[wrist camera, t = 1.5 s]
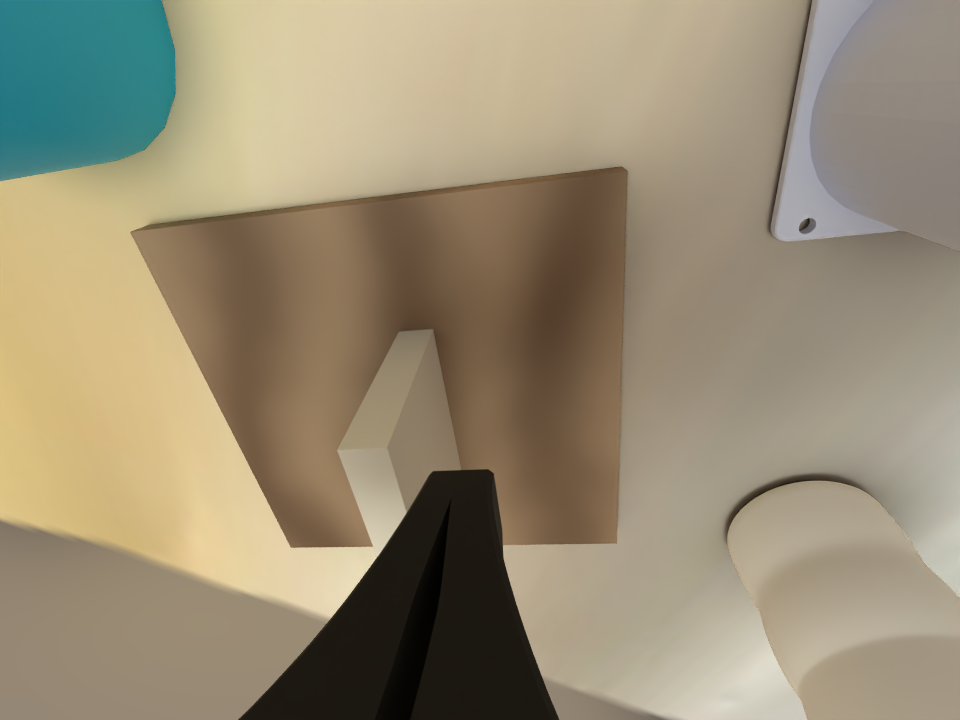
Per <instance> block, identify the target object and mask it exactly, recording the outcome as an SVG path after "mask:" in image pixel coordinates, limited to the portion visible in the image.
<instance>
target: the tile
mask: <svg viewBox="0 0 960 720" xmlns="http://www.w3.org/2000/svg"><path fill="white" fill-rule="evenodd" d="M337 451H338V454H339V457H340V459H341V462H342V465H343V467H344V470H345V473H346V475H347V478H348V481H349V483H350V486H351V489H352V491H353V494H354V497H355V499H356V502H357V505H358V507H359V510H360V513H361V515H362V518H363V521H364V523H365V526H366V529H367V532H368V534H369V537H370V540H371V542H372V545H373V548H374V550H375V553H376V556H377V557H378V555H379V554H380V553H381V551H382V550H383V548H384V547H385V545H386V544H387V542H388V541H389V539H390V538H391V536H392V535H393V533H394V532H395V530H396V529H397V527H398V526H399V524H400V522H401V521H402V519H403V518H404V516H405V515H406V513H407V511H408V510H409V508H410V506H411V505H412V503H413V502H414V500H415V498H416V497H417V495H418V493H419V491H420V490H421V488H422V486H423V485H424V483H425V481H426V479H427V478H428V476H429V475H430V474H431V473H432V472H433V471H448V470H461V465H460V460H459V455H458V450H457V445H456V440H455V435H454V430H453V425H452V421H451V416H450V411H449V406H448V401H447V396H446V391H445V386H444V381H443V376H442V371H441V366H440V361H439V356H438V351H437V346H436V341H435V336H434V331H433V329H425V330H413V331H401V332H398V334H397V336H396V338H395V340H394V342H393V344H392V346H391V348H390V350H389V352H388V353H387V355H386V357H385V359H384V361H383V363H382V365H381V367H380V369H379V371H378V373H377V375H376V376H375V378H374V380H373V382H372V384H371V386H370V388H369V390H368V392H367V394H366V396H365V398H364V399H363V401H362V403H361V405H360V407H359V409H358V411H357V413H356V415H355V417H354V419H353V421H352V422H351V424H350V426H349V428H348V430H347V432H346V434H345V436H344V438H343V440H342V442H341V444H340V445H339V447H338V449H337Z"/></svg>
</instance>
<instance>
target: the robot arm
mask: <svg viewBox="0 0 960 720" xmlns="http://www.w3.org/2000/svg"><path fill="white" fill-rule="evenodd" d="M808 218H810V223H809V225H808V227H806V228H805V229H804V230H801V231H799V225H800V223H801V222H802V221H803V220H805V219H808ZM895 231H905V232H908V233H911V234H913V235H916V236H919V237H921V238H924V239H927V240H929V241H932V242H935V243H937V244H940V245H943V246H945V247H948V248H951V249H953V250H956V251H959V252H960V0H812V6H811V11H810V16H809V22H808V27H807V33H806V38H805V44H804V49H803V54H802V60H801V65H800V71H799V76H798V81H797V87H796V92H795V98H794V103H793V108H792V114H791V119H790V125H789V130H788V135H787V141H786V146H785V152H784V157H783V162H782V168H781V173H780V179H779V184H778V189H777V195H776V200H775V206H774V211H773V217H772V222H771V233H772V235H773V236H774V237H775V238H777V239H779V240H780V241H783V242H792V241H802V240H812V239H823V238H833V237H843V236H854V235H864V234H874V233H885V232H895ZM238 720H559V718H558V715H557V713H556V711H555V708H554V706H553V704H552V701H551V699H550V696H549V694H548V691H547V689H546V686H545V684H544V681H543V678H542V676H541V673H540V670H539V668H538V665H537V663H536V660H535V657H534V655H533V652H532V649H531V646H530V643H529V640H528V638H527V635H526V632H525V629H524V626H523V623H522V620H521V617H520V614H519V611H518V608H517V605H516V601H515V598H514V595H513V591H512V588H511V585H510V581H509V578H508V574H507V570H506V567H505V563H504V559H503V533H502V524H501V517H500V511H499V504H498V498H497V491H496V485H495V478H494V473H493V472H491V471H490V470H489V469H477V470H448V471H433V472H432V473H431V474H430V475H429V476H428V478H427V479H426V481H425V483H424V485H423V486H422V488H421V490H420V491H419V493H418V495H417V497H416V498H415V500H414V502H413V503H412V505H411V506H410V508H409V510H408V511H407V513H406V515H405V516H404V518H403V519H402V521H401V522H400V524H399V526H398V527H397V529H396V530H395V532H394V533H393V535H392V536H391V538H390V539H389V541H388V542H387V544H386V545H385V547H384V548H383V550H382V551H381V553H380V554H379V555H378V557H377V558H376V560H375V561H374V563H373V564H372V565H371V567H370V568H369V569H368V571H367V572H366V573H365V575H364V576H363V578H362V579H361V580H360V582H359V583H358V584H357V586H356V587H355V588H354V590H353V591H352V592H351V594H350V595H349V596H348V598H347V599H346V600H345V602H344V603H343V604H342V605H341V607H340V608H339V609H338V610H337V612H336V613H335V614H334V615H333V617H332V618H331V619H330V620H329V622H328V623H327V624H326V625H325V626H324V628H323V629H322V630H321V631H320V632H319V633H318V635H317V636H316V637H315V638H314V639H313V641H312V642H311V643H310V644H309V645H308V646H307V647H306V649H305V650H304V651H303V652H302V653H301V654H300V655H299V656H298V658H297V659H296V660H295V661H294V662H293V663H292V664H291V665H290V666H289V667H288V668H287V670H286V671H285V672H284V673H283V674H282V675H281V676H280V677H279V678H278V679H277V681H276V682H275V683H274V684H273V685H272V686H271V687H270V688H269V689H268V690H267V691H266V692H265V693H264V694H263V695H262V696H261V698H259V699H258V701H257V702H256V703H255V704H254V705H253V706H252V707H251V708H250V709H249V710H248V711H247V712H246V713H245V714H244V715H243V716H242V717H241V718H239V719H238Z"/></svg>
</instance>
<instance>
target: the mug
mask: <svg viewBox="0 0 960 720" xmlns="http://www.w3.org/2000/svg"><path fill="white" fill-rule="evenodd" d="M174 97H175V49H174V45H173V42H172V38H171V34H170V30H169V27H168V23H167V19H166V15H165V12H164V8H163V4H162V1H161V0H0V181H4V180H9V179H15V178H21V177H26V176H32V175H38V174H44V173H49V172H55V171H61V170H66V169H72V168H78V167H83V166H89V165H95V164H101V163H106V162H112V161H117V160H120V159H122V158H125V157H127V156H130V155H133V154H135V153H138V152H140V151H143V150H145V149H146V147H147V146H148V145H149V144H150V143H151V142H152V141H153V140H154V139H155V138H156V136H157V135H158V134H159V133H160V132H161V131H162V130H163V129H164V128H165V125H166V122H167V118H168V115H169V112H170V109H171V106H172V103H173V100H174Z"/></svg>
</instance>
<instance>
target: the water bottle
mask: <svg viewBox="0 0 960 720" xmlns="http://www.w3.org/2000/svg"><path fill="white" fill-rule="evenodd" d="M727 545H728V550H729V553H730V556H731V558H732V561H733V563H734V566H735V568H736V570H737V572H738V574H739V576H740V578H741V580H742V582H743V584H744V586H745V588H746V590H747V592H748V594H749V595H750V597H751V599H752V600H753V602H754V603H755V605H756V607H757V608H758V610H759V612H760V615H761V618H762V622H763V626H764V629H765V632H766V635H767V638H768V641H769V643H770V646H771V648H772V650H773V653H774V655H775V657H776V659H777V661H778V664H779V665H780V667H781V669H782V671H783V673H784V675H785V677H786V679H787V680H788V682H789V684H790V685H791V687H792V688H793V690H794V691H795V693H796V694H797V695H798V697H799V698H800V700H801V701H802V704H803V707H804V710H805V713H806V716H807V719H808V720H960V598H959V597H958V596H957V595H956V593H955V592H954V591H953V590H952V589H951V588H950V587H949V586H948V585H947V584H946V583H945V582H944V581H943V580H942V579H941V578H940V577H938V576H937V575H936V574H935V573H934V572H933V571H932V570H931V569H930V568H928V567H927V566H926V565H925V563H924V562H923V560H922V559H921V557H920V555H919V554H918V552H917V550H916V549H915V547H914V546H913V544H912V543H911V542H910V540H909V539H908V537H907V536H906V535H905V533H904V532H903V531H902V529H901V528H900V527H899V526H898V524H897V523H896V522H895V521H894V519H893V518H892V517H891V516H890V515H889V513H888V512H887V511H886V510H885V509H884V508H883V507H882V505H881V504H879V503H878V502H877V501H876V500H875V499H874V498H873V497H872V496H870V495H869V494H867V493H866V492H864V491H862V490H860V489H858V488H856V487H853V486H850V485H847V484H843V483H838V482H831V481H803V482H796V483H791V484H787V485H783V486H780V487H777V488H774V489H772V490H769V491H767V492H765V493H763V494H761V495H759V496H758V497H756V498H754V499H753V500H751V501H750V502H749V503H748V504H746V505H745V506H744V507H743V508H742V509H741V510H740V511H739V512H738V514H737V515H736V516H735V518H734V519H733V521H732V523H731V525H730V527H729V530H728V535H727Z"/></svg>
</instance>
